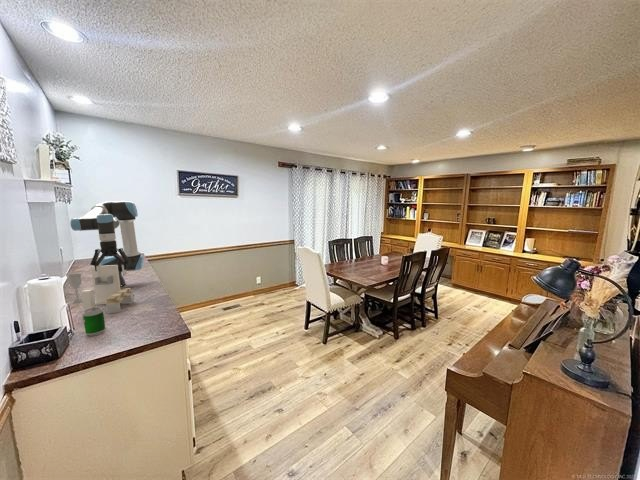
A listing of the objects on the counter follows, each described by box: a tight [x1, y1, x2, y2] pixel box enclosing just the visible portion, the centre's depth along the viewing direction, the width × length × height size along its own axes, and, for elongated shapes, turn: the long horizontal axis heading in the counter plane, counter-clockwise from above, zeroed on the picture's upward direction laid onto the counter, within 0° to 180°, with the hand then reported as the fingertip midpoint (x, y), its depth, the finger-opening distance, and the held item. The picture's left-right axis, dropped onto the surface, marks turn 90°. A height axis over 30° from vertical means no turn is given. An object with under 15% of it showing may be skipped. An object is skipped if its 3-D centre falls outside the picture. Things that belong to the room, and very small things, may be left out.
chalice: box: [66, 272, 83, 304], centre depth 170 cm, size 7×7×18 cm
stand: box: [105, 293, 135, 314], centre depth 161 cm, size 18×6×5 cm, turn 10°
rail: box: [106, 287, 132, 305], centre depth 161 cm, size 18×4×4 cm, turn 10°
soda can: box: [82, 306, 106, 337], centre depth 129 cm, size 8×8×12 cm
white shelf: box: [80, 265, 122, 313], centre depth 159 cm, size 20×14×24 cm
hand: (112, 275), depth 158 cm, fingers open, 13 cm apart
